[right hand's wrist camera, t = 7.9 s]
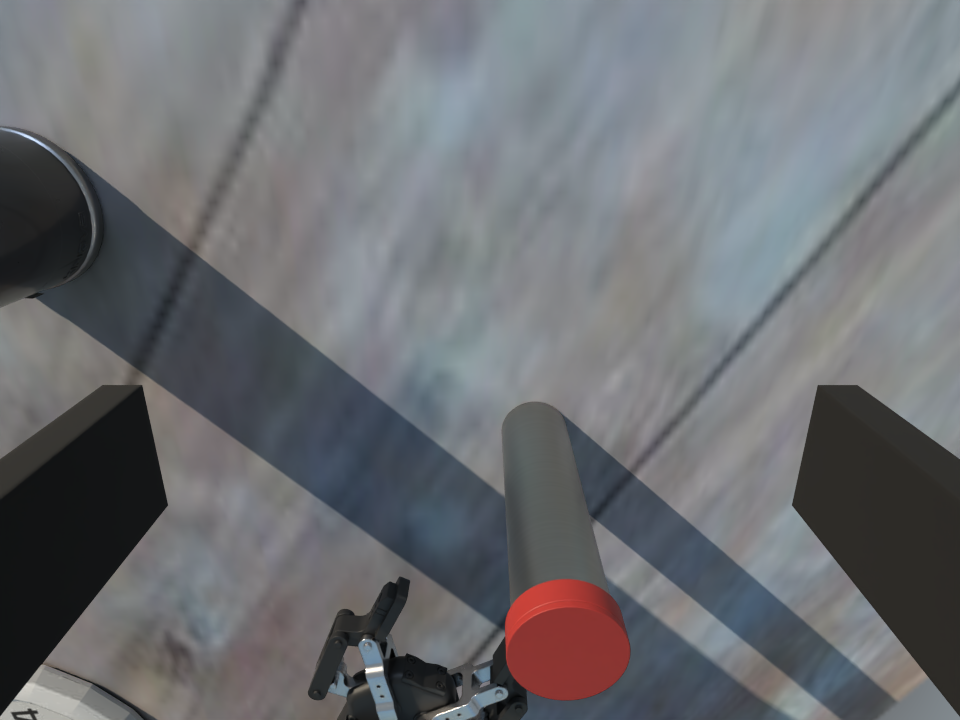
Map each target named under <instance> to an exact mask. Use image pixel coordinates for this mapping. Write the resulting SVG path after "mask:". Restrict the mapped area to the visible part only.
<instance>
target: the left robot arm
mask: <svg viewBox="0 0 960 720" xmlns="http://www.w3.org/2000/svg"><path fill="white" fill-rule="evenodd" d="M102 238H103V216H102V211H101V206H100V203H99V200H98V197H97V195H96V192H95V190H94V188H93V186H92V184H91V182H90V181H89V179H88V177H87V176H86V174H85V173H84V172H83V170H82V169H81V168H80V167H79V165H78V164H77V163H76V162H75V161H74V160H73V159H72V158H71V157H70V156H69V155H68V154H67V153H66V152H65V151H63V150H62V149H61V148H60V147H58V146H57V145H56V144H54V143H52V142H51V141H49V140H48V139H46V138H44V137H42V136H40V135H38V134H35V133H33V132H30V131H27V130H24V129H20V128H15V127H6V126H0V308H1V307H3V306H6V305H8V304H11V303H13V302H15V301H18V300H20V299H23V298H35V297H38V296H40V295H42V294H44V293H38V292H40V291H43V290H46V289H51V288H54V287H57V286H60V285H62V284H65V283H67V282H69V281H72V280H74V279H75V278H77V277H79V276H80V275H81V274H83V273H84V272H85V271H86V270H87V269H88V268H89V267H90V266H91V264H92V263H93V262H94V260H95V258H96V257H97V255H98V252H99V250H100V247H101V243H102ZM409 584H410V580H408V579H405V578H403V577H399V578H398V580H397V582H396V584H395V583H392V582H388V583H387V584H386V585H384V587H383V589H382V590H381V593H380V594H379V596H378V598H377V600H376V602H375V604H374V605H373V607H372V609H371V611H370V612H369V613H367V614H366V615H364V616H355V615H354V613H353V612H352V611H351V610H348V609H342V610H340V611H339V612H338V613H337V616H336V618H335V621H334V623H333V625H332V628H331V630H330V633H329V635H328V637H327V640H326V642H325V645H324V647H323V650H322V652H321V654H320V657H319V659H318V662H317V665H316V668H315V671H314V674H313V678H312V681H311V684H310V688H309V691H308V695H309V697H310V698H312V699H314V700H322V699H324V698H325V696H326V694H327V692H330V693H333V694H337V695H340V696H343V697H347V702H346V704H345V706H344V708H343V710H342V711H341V713H340V715H339V717H338V719H337V720H520V719H521V718H522V717H523V715H524V714H525V713H526V712H527V709H528V708H527V694H526V689H525V688H524V687H522V686H521V685H520V684H519V683H518V682H517V681H516V680H515V678H514V677H513V676H512V674H511V672H510V670H509V668H508V665H507V660H506V639H505V637H504V639H503V640H502V642H501V644H500V645H499V647H498V648H497V650H496V651H495V653H494V654H493V660H490V661H487V662H485V663H482V664H479V665H477V666H473V665H472V664H471V663H467V664H464V665H462V666H459V667H456V668H454V669H451V670H448V671H447V668H446V667H443V666H440V665H437V664H430V663H425V662H424V661H422V660H421V659H419V658H417V657H415V656H413V655H410V654H406V655H405V656H398V654H397V651H396V648H395V645H394V642H393V639H392V636H391V634H389V632H390V631H391V629H392V627H393V625H394V623H395V622H396V620H397V618H398V616H399V614H400V613H401V611H402V609H403V607H404V605H405V603H406V600H407V597H408V590H409ZM347 646H358V647H359V650H360V653H361V656H362V658H363V661H364V664H365V668H366V669H364V670H362V671H360V672H358V673H356V674H355V675H354V676H353V677H351V676H349V675H348V674H347V672H346V670H347V666H346V664H345V663H344V662H343V661H344V658H343V655H344V653H345V650H346V648H347ZM489 680H490V684H489V685H487V686H484V687H481V688H480V685H481V684H482V683H484V682H486V681H489ZM461 685H462V696H461V698H460V700H459V697H458V693H457V690H456V687H459V686H461ZM485 706H486V707H485ZM484 707H485V708H484Z"/></svg>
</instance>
